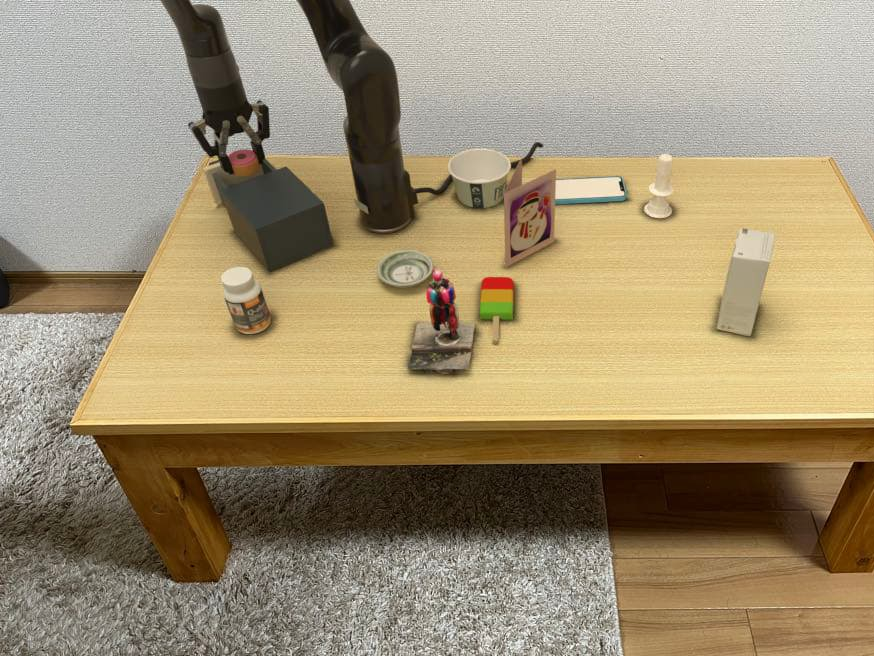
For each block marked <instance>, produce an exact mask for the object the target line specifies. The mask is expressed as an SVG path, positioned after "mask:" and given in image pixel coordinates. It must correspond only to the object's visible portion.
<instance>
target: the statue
mask: <svg viewBox="0 0 874 656" xmlns="http://www.w3.org/2000/svg"><path fill="white" fill-rule="evenodd" d="M443 273H444V272H443V271H442V270H441V269H438V268H435V269H434V268H433V271H432V279H433V280H432V281H429V282H428V285H427V287H426V290H425V291H426V293H425V294H426V296H425V297H426V302H427V303H428V304H429V307H428V308H429V317H430V322H417V323H416V328H415V333H414V337H413V341H412V345H411V349H410V350H411V351H410V352H411V355H410V358H409V362H408V365H407V367H406V369H407V370H423V371H425V372H426V373H428V374H432V373H433V371H435V370H436V372H438V373H440V374H443V375H444V374H445V375H450V374H451V373H452V372H455V371H456V370H461V369H462V370H463V369H467V370H468V369H469V366H470V362H471V356H472V354H473V353H472V345H474V334H475V326H476V323H475V322H460V312H459V307H458V306H457V303H456V302H455V300H456V298H457V296H456V291H455V287H454V284H453V281H451V280H450V279H449V278H445V277H444V274H443Z"/></svg>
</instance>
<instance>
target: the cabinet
mask: <svg viewBox="0 0 874 656" xmlns="http://www.w3.org/2000/svg"><path fill="white" fill-rule="evenodd" d="M220 191H221V194H222V197H223V200H224V203H225V206H226V208H227V209H226V208H225V209H226V210H227V214H228V217H229V221H230V222H231V226H232V228H233V232H234V233H235V234H236V236H237V237H238V238H239V239H240V240H241V241H242V242H243V244H244V245H245V246H246V247H247V248H248V250H249V252H251V253H252V254H253V256H254V257H255V258H256V259H257V260H258V262H260V263H261V265H262V266H263V267H264V268H265V269H266V270H267V272H268V273H271V272H274V271H277V270H279V269H281V268H283V267H286V266H288V265H291V264H293V263H295V262H298V261H301V260H303V259H305V258H308V257H310V256H313V255H315V254H317V253H319V252H322V251H324V250H327V249H330V248H332V247H334V245H335V244H334V240H333V236H332V232H331V227H330V222H329V218H328V215H327V210H326V206H325V203H324V201H322V199H321V198H320V197H318V195H317V194H315V193H314V192H313V191H312V190H311V189H310V188H309V187H308V186H307V185H306V184H305V183H304V182H303V181H302V180H301V179H300V178H299V177H298V176H297V175H296V174H295V173H294V172H292V170H291V169H290V168H289V167H288V166H283V167H280V168H278V169H277V168H276V170H274V171H272V172H269V173H266V174H263V175H260V176H258V177H255V178H252V179H249V180H246V181H243V182H241V183H238V184H235V185H232V186H229V187H226V188H224V189H221V190H220Z"/></svg>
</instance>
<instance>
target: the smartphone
mask: <svg viewBox="0 0 874 656" xmlns="http://www.w3.org/2000/svg"><path fill="white" fill-rule="evenodd" d="M626 199H627V191H626V187H625V182H624V178H623V177H622V176H620V175H608V176H586V177H568V178H567V177H566V178H565V177H563V178H556V191H555V205H566V204H567V205H568V204H588V203H590V204H591V203H608V202H624V201H625V200H626Z"/></svg>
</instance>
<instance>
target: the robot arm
mask: <svg viewBox="0 0 874 656" xmlns="http://www.w3.org/2000/svg"><path fill="white" fill-rule="evenodd" d="M159 1H160V2H161V4H162V6H163V7H164V9H165V11H166V13H167V14H168V16H169V17H170V19H171V21H172V23H173V24H174V26H175V28H176V30H177V33H178V36H179V40H180V42H181V45H182V49H183V51H184V55H185V58H186V59H185V60H186V64H187V68H188V71H189V74H190V78H191V80H192V83H193V87H194V89H195V91H196V94H197V98H198V100H199V103H200V106H201V109H202V115H201V116H202V117H201V119H199V120H198V121H195V122H193V121H190V122H188V124H187V126H188V127H187V128H188V129H189V130H190V131H191V133H192V135H193V137H194V138H195V139H196V141H197V143H198V144H199V146H200V147H201V148H202V150H203V151H204V153H206V154H207V156H208V157H209V158H214V157H217V160H219V162H220V165H221V168H222V169H223V170H224V171H225V172H226V173H227V172H228V173H229V174H230V175H231V174H234V172H233V169H232V166H231V163H230V160H229V157H228V156H229V155H228V154H227V147H228V145H229V138H231V137H233V136H234V135H235V134H242V133H245V134H246V135H247V137H248V138H249V139H250V141H249V144H250V146H251V150H252V151H253V152H254V153H255V154H256V155H257V158H258V161H259V164H262V163H264V162H263V160H264V159H266V154H265V150H264V148H263V145H262V143H263V141H264V140H268V139H269V138H271V129H270V125H271V124H270V108H269V106H268V105H267V104H266V103H265V102H264V101H262V100H257V101H256V103H250V102H249V101H248V97H247V94H246V91H245V86H244V84H243V81H242V80H243V79H242V77H241V73H240V68H239V65H238V63H237V59H236V57H235V55H234V52H233V50H232V47H231V45H230V41H229V39H228V35H227V30H226V27H225V24H224V21H223V17H222V15H221V13H220V12H219V10H218V9H217V8H215V7H214V6H212V5H209V4H200V3H199V4H192V2H191V0H159ZM296 2H297V4H298V5H299V7H300V8H301V10H302V12H303V15H304V16H305V17H306V20H307V23H308V25H309V27H310V29H311V31H312V34H313V37H314V39H315V42H316V45H317V47H318V50H319V52H320V55H321V58H322V61H323V63H324V66H325V68H326V71H327V73H328V75H329V77H330V79H331V80H332V81H333V83H334V84H335V85H336V86H337V87H338V88H339V89H340V90H341V91H342V93H343V97H344V102H345V109H346V116H345V118H344V120H343V123H342V128H343V133H344V138H345V143H346V149H347V153H348V159H349V163H350V169H351V175H352V179H353V185H354V189H355V190H354V191H355V195H356V198H355V199H354V202H355V207H356V208H358V211H359V216H360V217H359V219H360V224H361V225H362V227H363V228H364V229H366V230H367V231H369V232H372V233H375V234H391V233H395V232H399V231H401V230H403V229H405V228H406V227H407V226H408V225H409V224H410V223H411V220H413V219H415V218H416V214H415V205H418V204H419V199H418V194H425V193H428V194H432V195H435V196H437V195H441V194H443V193H444V192H445V191H446V190H447V188H448V186H449V185H450V184H451V182H452V181H453V178H452V175H451V174H449V176H448V177H447V178H446V179H445V180H444V182H443V184H442V185H441V187H440V188H437V189H434V188H432V187H428V186H426V187H424V186H423V187H417V188H414V187H413V186H412V183H411V182H412V181H411V175H410V173H409V172H408V170H406V169H405V164H404V158H403V150H402V149H403V148H402V143H401V142H402V141H401V136H400V127H399V125H400V122H401V119H402V118H401V117H402V110H401V109H402V108H401V99H400V88H399V80H398V74H397V69H396V66H395V65H396V64H395V63H394V60H393V59H392V57H391V56H390V54H389V53H388V52H387V51H385V49H383V48H382V47H381V46H380V45H379V44H378V43H377V42H376V41H375V40H374V39H373V38H372V37H371V36H370V34H369V33H368V32H367V30H366V29H365V27H364V25H363V23H362V22H361V20H360V18H359V16H358V15H357V12H356V10H355V8H354V7H353V4H352V2H351V0H296ZM253 113H254V115H255V116H256V122H257V124H256V125H257V131H256V130H254V129H253V127H252V126H251V125H250V124H249V123H250V120H251V118H252V115H253ZM207 127H209V128H210V129H212V131H213V134H212V135H213V145H211V144H210V142H209V141H208V139H207V138H206V136H205V135H206V134H207V129H206V128H207ZM543 147H544V145H543V143H541V142H540V141H537V142H534V143H533V145H532V146H531V148H530V149H529V152H527V154H526V155H525V156H524V157H522V165H523V164H525V163H527V162H528V161H529V160H530V159H531V158H532V156H533V155H534V154H535V152H536V150H537V148H539V149H541V148H543ZM520 160H521V159H518V160H515V161H512V162H511V161H510V163H511V168H515V167H517V166H518V164H519V162H520Z"/></svg>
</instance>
